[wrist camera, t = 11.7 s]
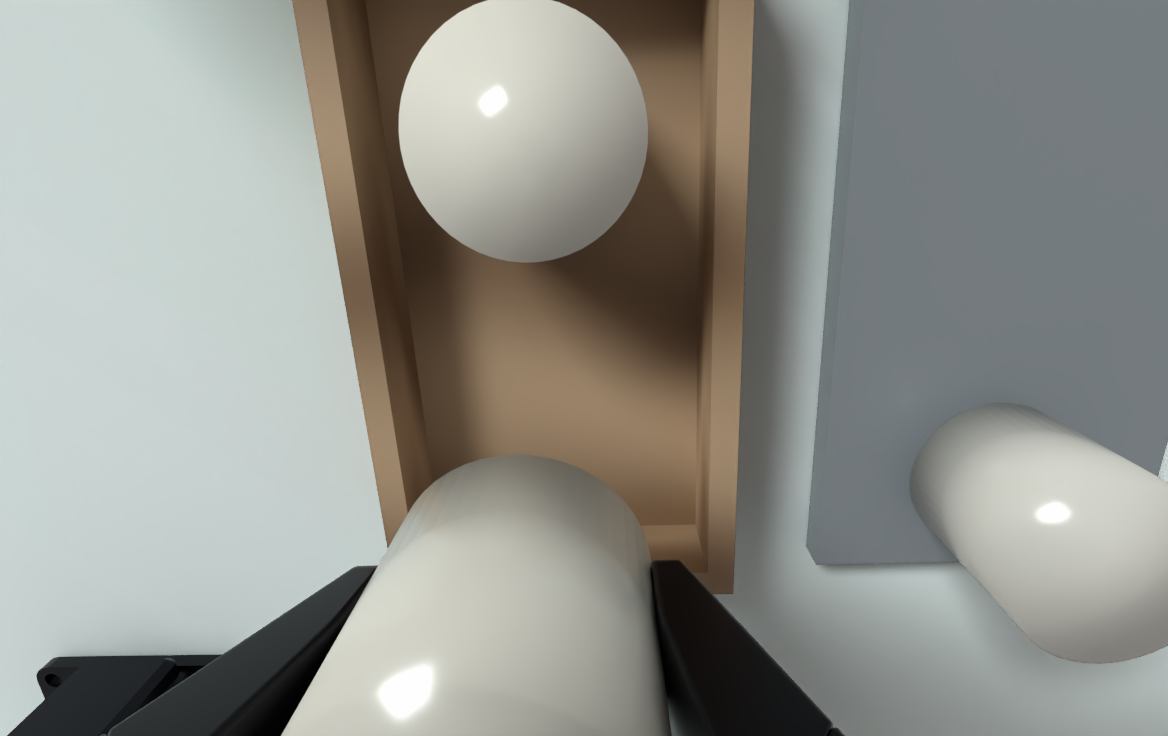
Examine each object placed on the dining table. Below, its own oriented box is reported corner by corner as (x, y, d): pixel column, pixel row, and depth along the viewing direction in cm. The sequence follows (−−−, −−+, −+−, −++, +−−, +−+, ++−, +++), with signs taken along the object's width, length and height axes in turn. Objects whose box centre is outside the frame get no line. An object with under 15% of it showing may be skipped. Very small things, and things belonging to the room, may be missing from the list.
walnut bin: (715, 532, 17) (733, 594, 14) (426, 539, 17) (396, 599, 15) (728, -70, 12) (758, -127, 10) (338, -44, 13) (276, -92, 10)
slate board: (1109, 540, 16) (1134, 558, 15) (806, 546, 17) (816, 564, 16) (1287, -138, 12) (1335, -160, 11) (858, -109, 12) (875, -128, 11)
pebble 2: (651, 670, 10) (683, 1001, 6) (413, 671, 10) (291, 993, 6) (650, 451, 8) (689, 685, 5) (380, 456, 9) (199, 689, 5)
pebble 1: (645, 218, 13) (668, 233, 10) (480, 255, 14) (439, 285, 10) (609, 31, 12) (620, -35, 9) (432, 77, 13) (364, 31, 9)
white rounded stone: (1054, 539, 15) (1201, 662, 12) (901, 543, 16) (996, 664, 12) (1085, 400, 14) (1261, 485, 10) (919, 405, 14) (1031, 491, 11)
